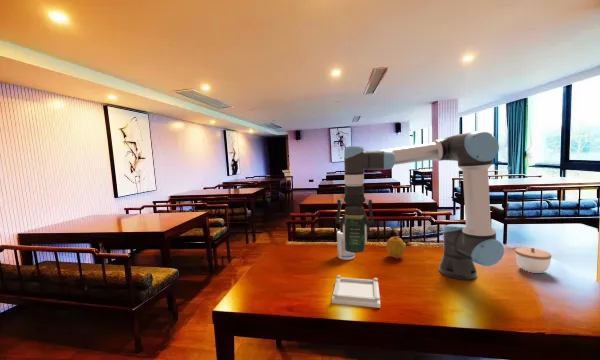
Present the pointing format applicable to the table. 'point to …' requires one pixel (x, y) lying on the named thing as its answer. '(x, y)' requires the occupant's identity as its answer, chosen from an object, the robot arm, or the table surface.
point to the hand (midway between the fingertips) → (354, 240)
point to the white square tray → (356, 292)
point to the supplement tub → (343, 248)
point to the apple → (395, 247)
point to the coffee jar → (354, 229)
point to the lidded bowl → (533, 259)
